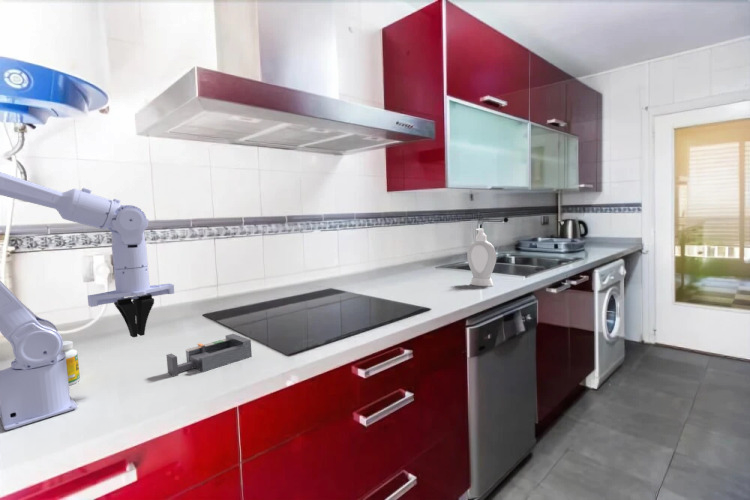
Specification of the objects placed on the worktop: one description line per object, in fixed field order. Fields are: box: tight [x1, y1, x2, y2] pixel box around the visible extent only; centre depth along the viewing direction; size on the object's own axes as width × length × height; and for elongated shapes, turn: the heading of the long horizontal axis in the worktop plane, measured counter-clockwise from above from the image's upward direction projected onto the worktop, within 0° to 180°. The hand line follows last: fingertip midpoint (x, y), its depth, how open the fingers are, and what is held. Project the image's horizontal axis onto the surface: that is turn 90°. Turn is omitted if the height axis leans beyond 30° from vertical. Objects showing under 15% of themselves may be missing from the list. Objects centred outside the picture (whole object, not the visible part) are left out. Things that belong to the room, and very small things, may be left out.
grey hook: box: [165, 342, 209, 377], centre depth 88 cm, size 8×6×4 cm
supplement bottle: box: [61, 340, 81, 387], centre depth 81 cm, size 5×5×8 cm
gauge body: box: [185, 333, 253, 373], centre depth 92 cm, size 12×8×4 cm
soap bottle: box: [466, 227, 497, 287], centre depth 169 cm, size 13×8×24 cm, turn 53°
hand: (137, 335), depth 79 cm, fingers closed
